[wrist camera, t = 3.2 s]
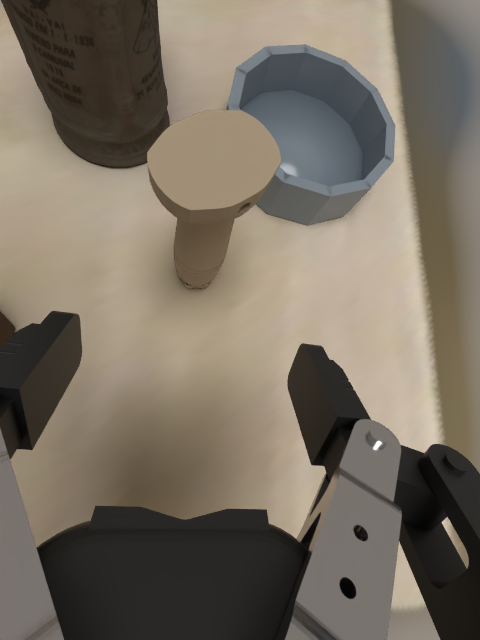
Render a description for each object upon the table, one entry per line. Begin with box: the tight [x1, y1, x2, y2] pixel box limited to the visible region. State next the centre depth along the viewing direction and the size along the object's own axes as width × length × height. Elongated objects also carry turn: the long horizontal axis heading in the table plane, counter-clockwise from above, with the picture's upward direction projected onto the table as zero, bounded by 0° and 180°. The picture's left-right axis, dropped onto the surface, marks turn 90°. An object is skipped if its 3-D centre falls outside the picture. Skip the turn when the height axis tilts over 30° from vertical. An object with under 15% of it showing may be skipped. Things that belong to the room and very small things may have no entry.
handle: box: [147, 110, 281, 289], centre depth 21 cm, size 5×6×15 cm
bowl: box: [227, 45, 395, 225], centre depth 32 cm, size 17×17×5 cm
